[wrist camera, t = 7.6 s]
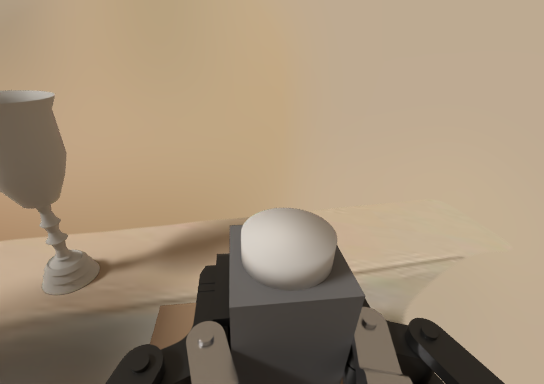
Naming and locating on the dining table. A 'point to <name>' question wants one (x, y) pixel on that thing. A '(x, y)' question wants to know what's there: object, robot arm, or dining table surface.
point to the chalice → (40, 180)
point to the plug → (290, 300)
